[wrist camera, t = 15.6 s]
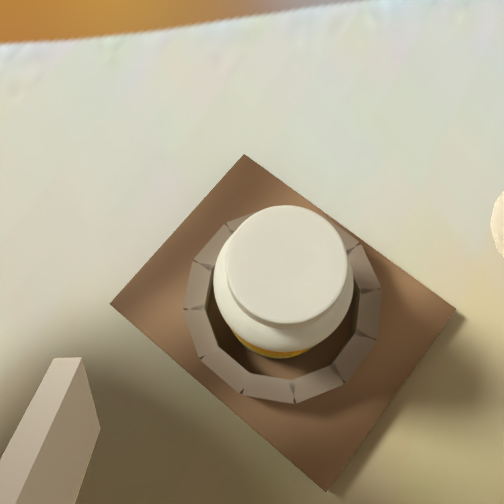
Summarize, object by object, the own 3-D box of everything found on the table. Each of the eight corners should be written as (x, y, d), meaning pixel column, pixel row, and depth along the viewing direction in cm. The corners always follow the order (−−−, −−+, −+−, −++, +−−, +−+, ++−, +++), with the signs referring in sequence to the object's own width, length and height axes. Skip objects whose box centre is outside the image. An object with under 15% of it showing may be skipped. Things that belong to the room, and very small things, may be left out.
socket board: (115, 307, 26) (96, 296, 23) (244, 162, 28) (242, 136, 25) (323, 487, 23) (331, 501, 20) (448, 312, 25) (472, 302, 23)
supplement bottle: (251, 241, 26) (245, 159, 16) (345, 280, 25) (394, 219, 16) (208, 334, 24) (175, 302, 15) (306, 378, 24) (334, 374, 14)
